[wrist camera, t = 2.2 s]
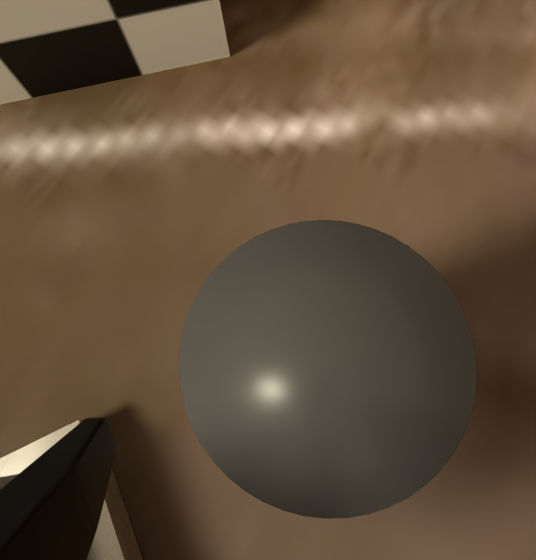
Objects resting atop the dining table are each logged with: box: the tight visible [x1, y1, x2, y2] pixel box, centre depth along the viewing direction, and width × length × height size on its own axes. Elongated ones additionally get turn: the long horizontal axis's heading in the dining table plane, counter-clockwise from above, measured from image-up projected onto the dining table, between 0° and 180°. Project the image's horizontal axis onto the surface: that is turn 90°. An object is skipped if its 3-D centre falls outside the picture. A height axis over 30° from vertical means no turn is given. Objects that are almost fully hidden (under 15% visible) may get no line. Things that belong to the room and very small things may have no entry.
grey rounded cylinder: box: [179, 220, 477, 518], centre depth 13 cm, size 5×5×11 cm
